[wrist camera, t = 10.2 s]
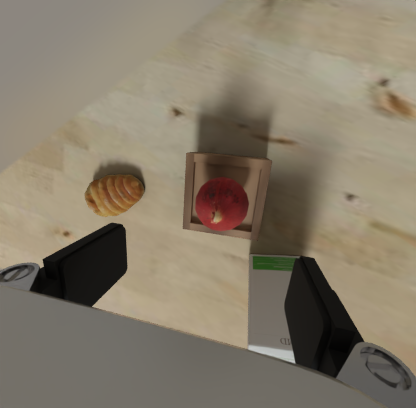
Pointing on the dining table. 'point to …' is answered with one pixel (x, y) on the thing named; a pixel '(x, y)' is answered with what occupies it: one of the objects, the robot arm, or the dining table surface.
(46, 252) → the dining table surface
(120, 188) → the pastry
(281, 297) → the skincare box
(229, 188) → the onion
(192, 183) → the wooden crate
